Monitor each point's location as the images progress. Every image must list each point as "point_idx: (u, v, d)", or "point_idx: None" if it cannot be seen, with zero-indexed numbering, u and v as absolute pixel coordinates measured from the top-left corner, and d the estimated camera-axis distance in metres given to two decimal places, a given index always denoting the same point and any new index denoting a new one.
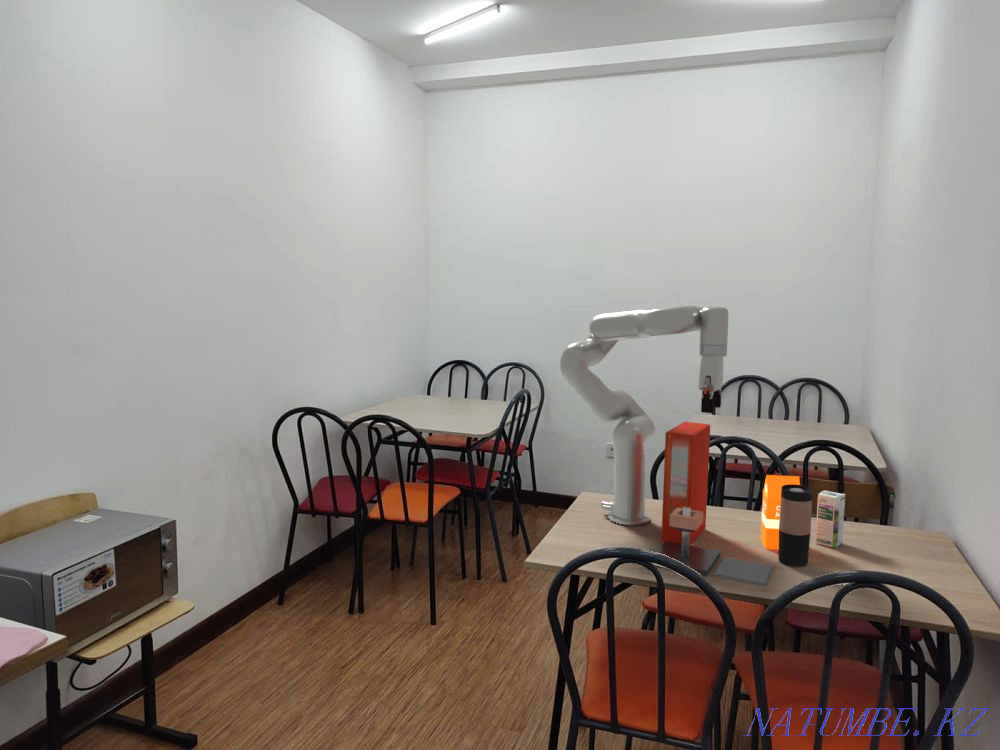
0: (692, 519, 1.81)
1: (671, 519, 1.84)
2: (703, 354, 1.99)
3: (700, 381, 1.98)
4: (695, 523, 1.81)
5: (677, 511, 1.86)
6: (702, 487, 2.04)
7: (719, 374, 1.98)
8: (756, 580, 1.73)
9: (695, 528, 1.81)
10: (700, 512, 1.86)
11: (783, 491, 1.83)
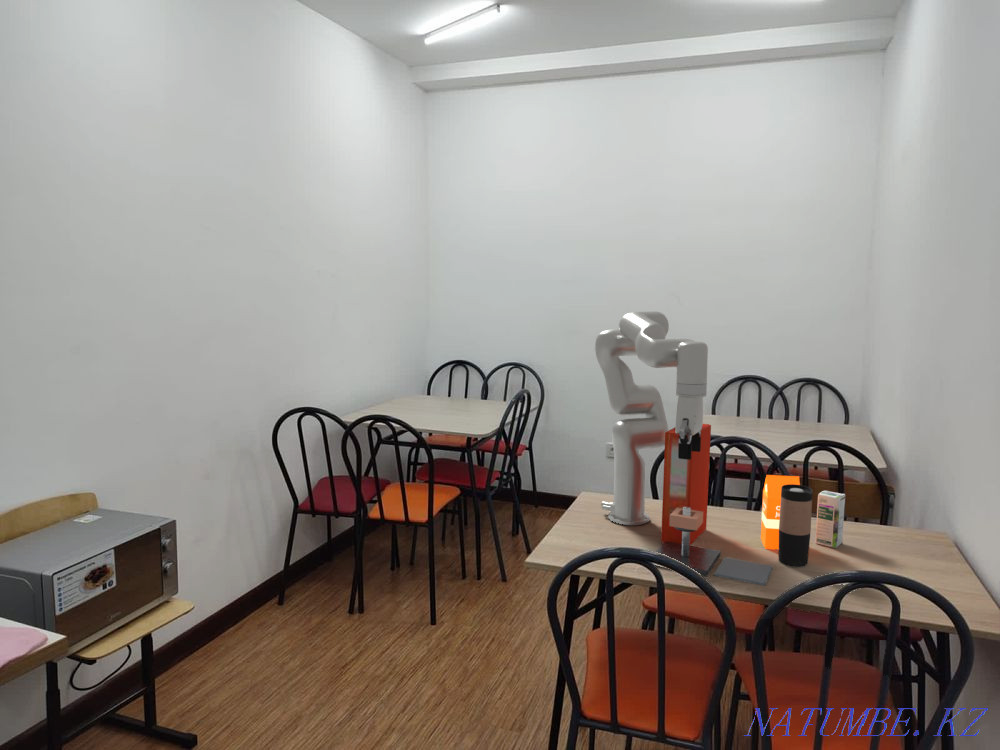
0: (692, 519, 1.81)
1: (671, 519, 1.84)
2: (680, 394, 1.79)
3: (677, 424, 1.79)
4: (695, 523, 1.81)
5: (677, 511, 1.86)
6: (702, 487, 2.03)
7: (698, 416, 1.79)
8: (756, 580, 1.73)
9: (695, 528, 1.81)
10: (700, 512, 1.86)
11: (783, 491, 1.83)
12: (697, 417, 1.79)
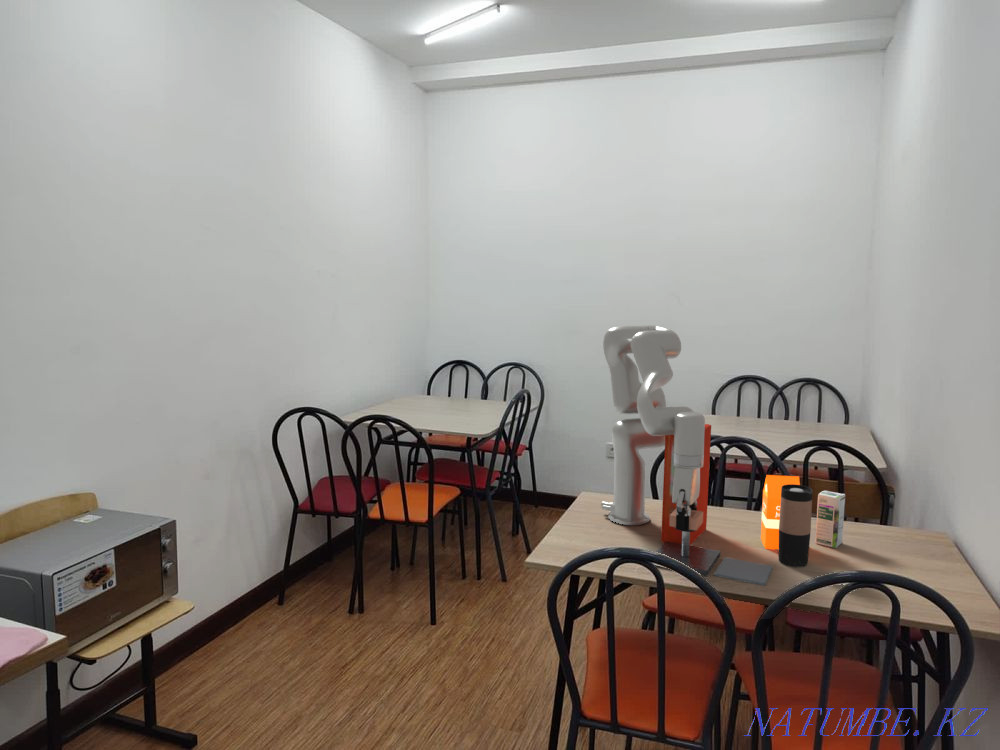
0: (692, 519, 1.81)
1: (671, 519, 1.84)
2: (677, 464, 1.81)
3: (674, 494, 1.81)
4: (695, 523, 1.81)
5: None
6: (702, 487, 2.03)
7: (695, 487, 1.81)
8: (756, 580, 1.73)
9: (695, 528, 1.81)
10: (700, 512, 1.86)
11: (783, 491, 1.83)
12: (694, 488, 1.81)
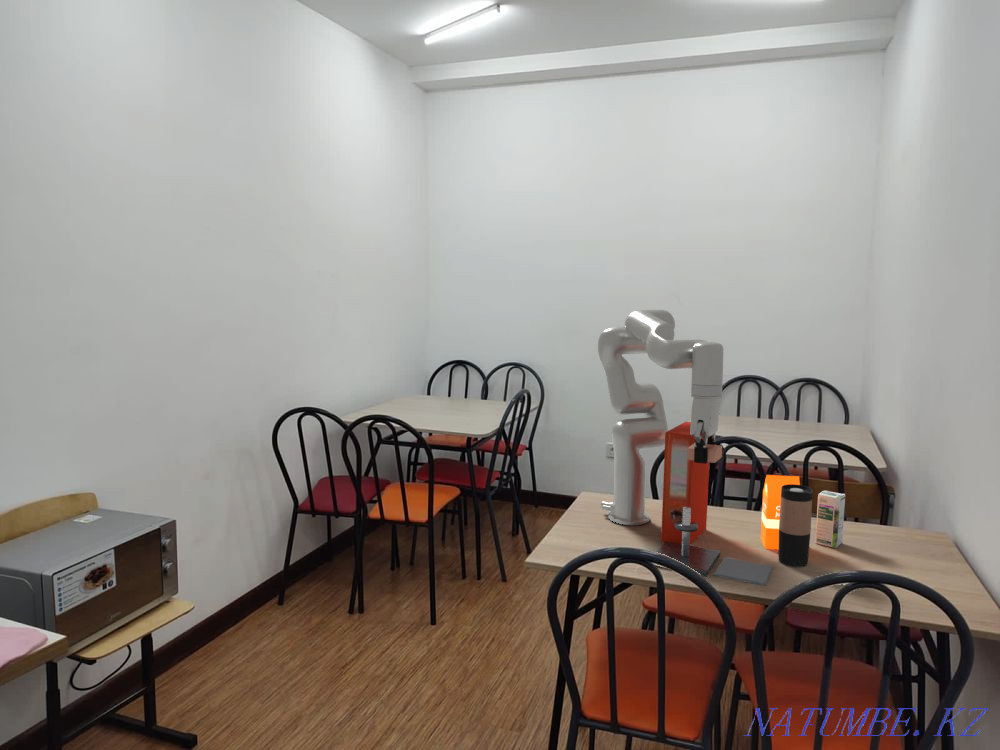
0: (711, 451, 1.76)
1: (689, 452, 1.79)
2: (695, 395, 1.77)
3: (692, 426, 1.77)
4: (714, 455, 1.76)
5: None
6: (702, 487, 2.03)
7: (713, 418, 1.77)
8: (756, 580, 1.73)
9: (714, 460, 1.76)
10: (719, 446, 1.81)
11: (783, 491, 1.83)
12: (712, 419, 1.76)
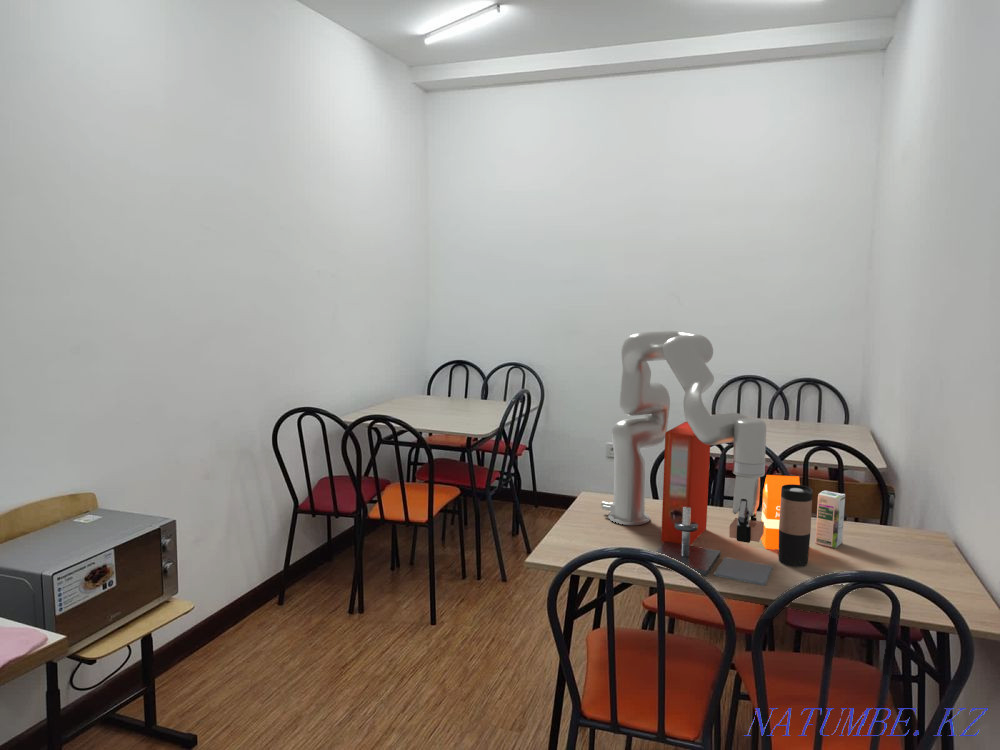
0: (754, 530, 1.73)
1: (731, 530, 1.76)
2: (738, 473, 1.74)
3: (734, 504, 1.74)
4: (757, 534, 1.73)
5: (736, 522, 1.79)
6: (702, 487, 2.03)
7: (756, 496, 1.74)
8: (756, 580, 1.73)
9: (757, 539, 1.73)
10: (761, 522, 1.78)
11: (783, 491, 1.83)
12: (755, 497, 1.73)
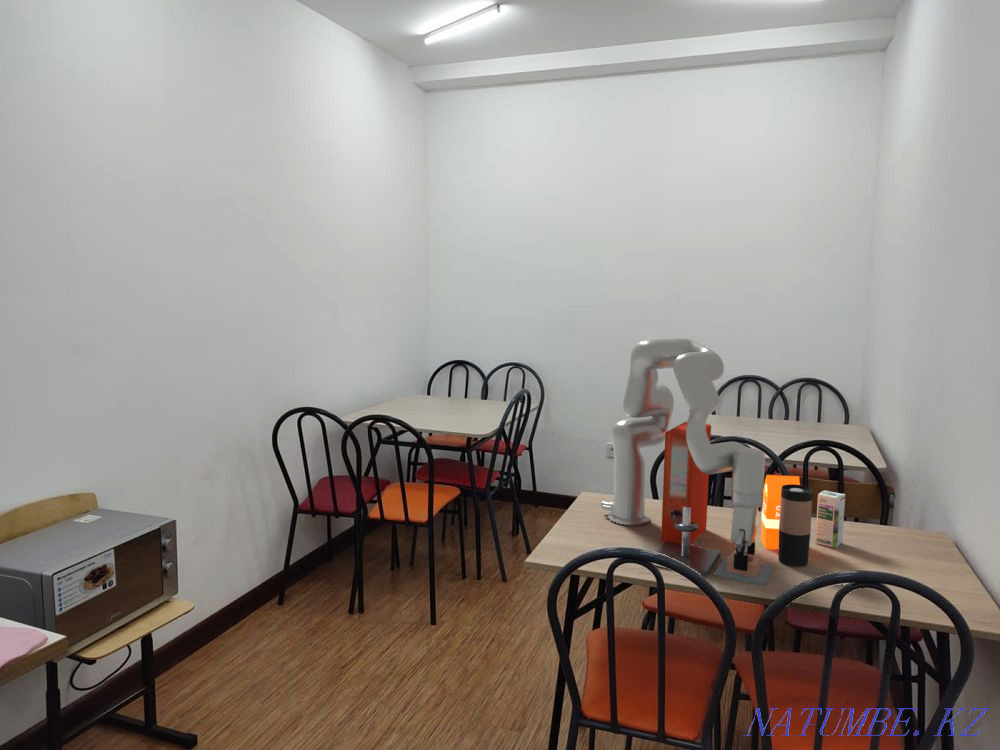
0: (751, 565, 1.75)
1: (729, 565, 1.78)
2: (736, 503, 1.75)
3: (733, 534, 1.75)
4: (754, 570, 1.75)
5: None
6: (702, 487, 2.03)
7: (754, 526, 1.75)
8: (756, 580, 1.73)
9: (754, 575, 1.75)
10: (758, 557, 1.80)
11: (783, 491, 1.83)
12: (753, 527, 1.74)
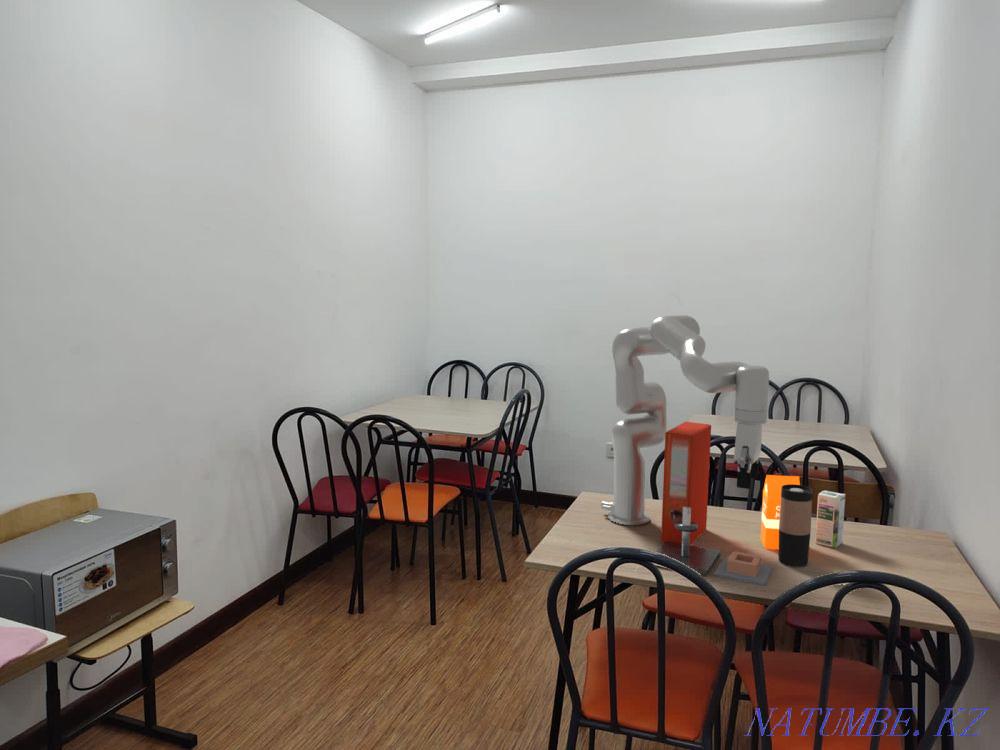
0: (751, 565, 1.75)
1: (729, 565, 1.78)
2: (739, 420, 1.73)
3: (736, 452, 1.72)
4: (754, 570, 1.75)
5: (734, 556, 1.80)
6: (702, 487, 2.03)
7: (758, 444, 1.72)
8: (756, 580, 1.73)
9: (754, 575, 1.75)
10: (758, 557, 1.80)
11: (783, 491, 1.83)
12: (757, 445, 1.72)
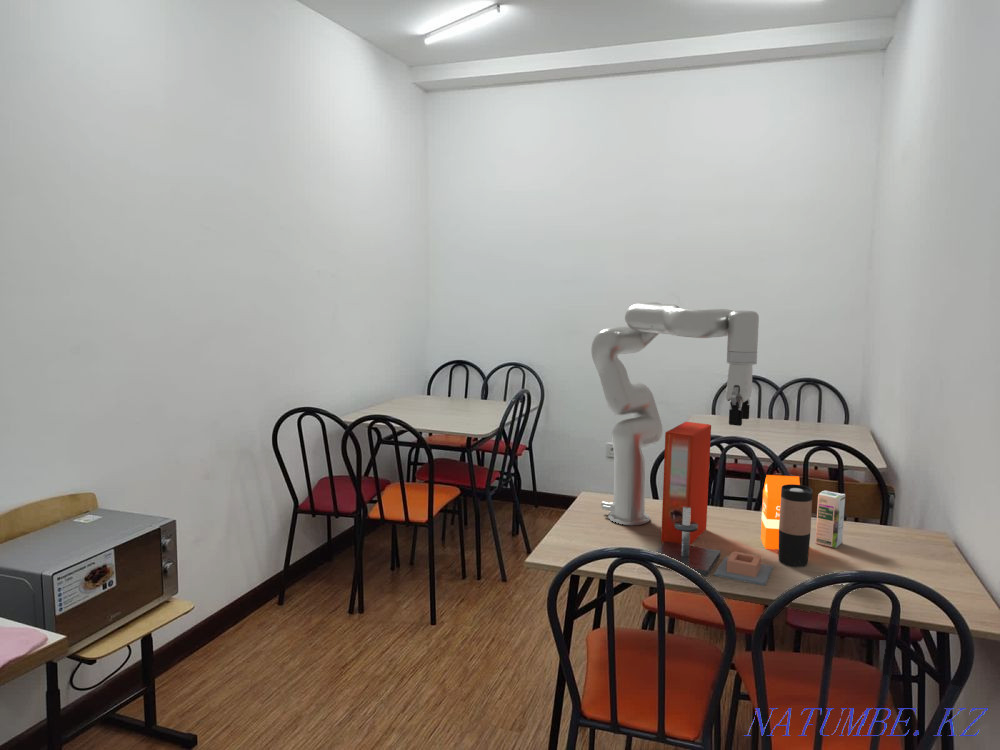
0: (751, 565, 1.75)
1: (729, 565, 1.78)
2: (731, 362, 1.83)
3: (728, 391, 1.83)
4: (754, 570, 1.75)
5: (734, 556, 1.80)
6: (702, 487, 2.03)
7: (748, 383, 1.83)
8: (756, 580, 1.73)
9: (754, 575, 1.75)
10: (758, 557, 1.80)
11: (783, 491, 1.83)
12: (748, 384, 1.83)
